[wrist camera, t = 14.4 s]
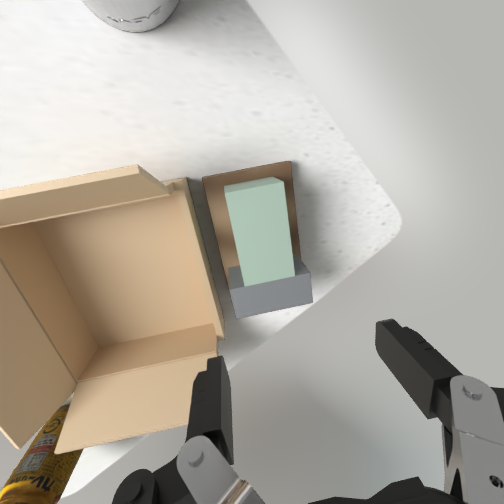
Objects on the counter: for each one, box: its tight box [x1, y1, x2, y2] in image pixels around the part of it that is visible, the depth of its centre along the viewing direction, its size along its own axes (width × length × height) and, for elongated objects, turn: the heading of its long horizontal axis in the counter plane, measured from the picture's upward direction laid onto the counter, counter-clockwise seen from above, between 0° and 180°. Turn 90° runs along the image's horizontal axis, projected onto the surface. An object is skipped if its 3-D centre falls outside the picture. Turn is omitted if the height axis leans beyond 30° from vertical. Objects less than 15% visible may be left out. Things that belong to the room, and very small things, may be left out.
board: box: [202, 161, 301, 296], centre depth 28 cm, size 14×9×2 cm, turn 10°
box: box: [224, 176, 313, 319], centre depth 25 cm, size 12×8×5 cm, turn 10°
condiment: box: [0, 394, 84, 504], centre depth 31 cm, size 7×8×12 cm
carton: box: [0, 165, 225, 454], centre depth 24 cm, size 22×18×12 cm
